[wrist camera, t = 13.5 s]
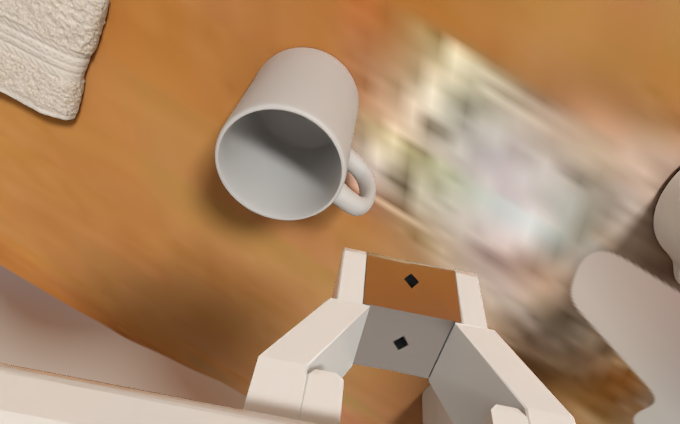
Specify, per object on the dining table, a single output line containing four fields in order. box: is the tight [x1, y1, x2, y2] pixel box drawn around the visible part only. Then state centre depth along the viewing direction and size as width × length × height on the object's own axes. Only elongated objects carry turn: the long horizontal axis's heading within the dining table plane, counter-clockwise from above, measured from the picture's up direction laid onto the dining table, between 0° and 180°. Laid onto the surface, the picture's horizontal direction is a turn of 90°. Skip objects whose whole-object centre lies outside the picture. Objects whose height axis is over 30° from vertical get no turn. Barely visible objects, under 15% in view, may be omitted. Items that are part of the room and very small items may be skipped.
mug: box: [215, 47, 376, 220], centre depth 36 cm, size 12×8×11 cm
